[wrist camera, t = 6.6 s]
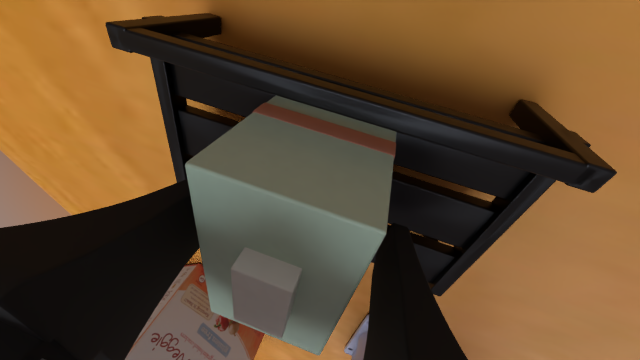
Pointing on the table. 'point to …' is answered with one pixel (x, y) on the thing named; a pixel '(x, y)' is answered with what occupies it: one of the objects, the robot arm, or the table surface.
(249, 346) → the cracker box
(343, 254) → the tissue box
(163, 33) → the rack
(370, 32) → the table surface
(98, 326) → the robot arm
